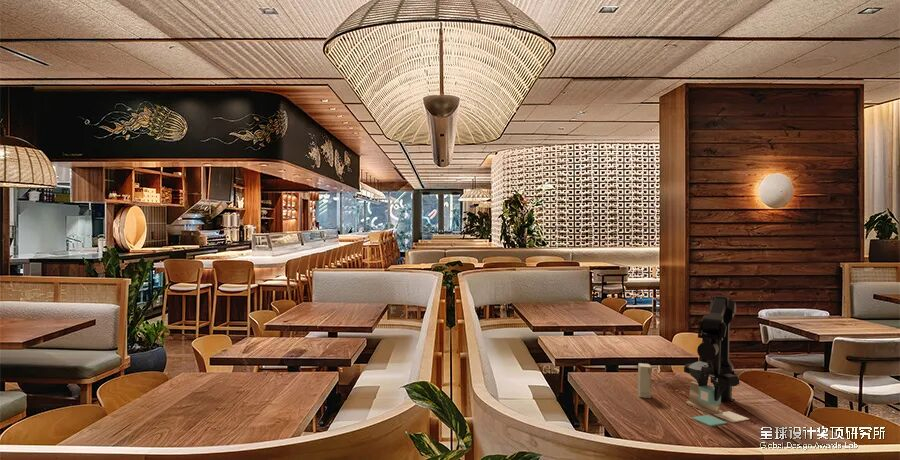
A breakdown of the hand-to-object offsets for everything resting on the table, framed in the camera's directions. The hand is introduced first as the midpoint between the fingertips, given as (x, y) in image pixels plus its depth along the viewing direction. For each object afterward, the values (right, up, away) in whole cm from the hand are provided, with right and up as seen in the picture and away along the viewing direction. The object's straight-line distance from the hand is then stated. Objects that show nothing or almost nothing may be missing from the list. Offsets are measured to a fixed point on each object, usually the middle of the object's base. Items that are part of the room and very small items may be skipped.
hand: (709, 398), depth 193 cm
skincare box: (-13, -7, +27) cm, 31 cm away
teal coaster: (0, -8, 0) cm, 8 cm away
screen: (+4, -8, +13) cm, 15 cm away
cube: (0, -1, 0) cm, 1 cm away
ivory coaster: (+10, -8, +5) cm, 13 cm away
